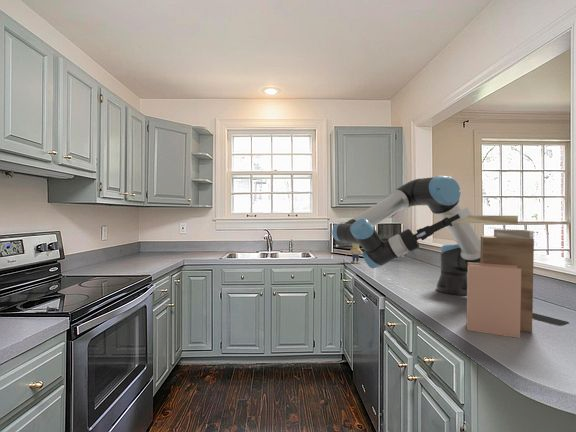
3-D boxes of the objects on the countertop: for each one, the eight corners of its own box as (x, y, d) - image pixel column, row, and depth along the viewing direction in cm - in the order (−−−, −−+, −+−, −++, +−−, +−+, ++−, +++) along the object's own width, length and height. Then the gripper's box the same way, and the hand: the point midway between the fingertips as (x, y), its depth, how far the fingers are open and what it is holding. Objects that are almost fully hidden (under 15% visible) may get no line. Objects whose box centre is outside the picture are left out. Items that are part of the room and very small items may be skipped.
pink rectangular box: (466, 323, 111) (467, 262, 110) (515, 330, 104) (516, 265, 104) (467, 330, 104) (468, 265, 104) (519, 338, 98) (521, 268, 98)
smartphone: (559, 325, 109) (512, 312, 123) (559, 327, 109) (512, 314, 123) (570, 322, 112) (523, 310, 126) (570, 324, 112) (523, 311, 126)
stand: (479, 317, 118) (480, 228, 117) (526, 323, 111) (527, 230, 111) (481, 324, 110) (483, 229, 109) (532, 332, 103) (534, 231, 103)
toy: (365, 262, 245) (365, 239, 245) (365, 263, 239) (366, 240, 238) (345, 261, 248) (345, 239, 248) (345, 263, 241) (345, 240, 241)
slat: (444, 222, 112) (444, 215, 112) (515, 223, 103) (515, 215, 103) (444, 222, 109) (444, 215, 109) (517, 223, 99) (517, 215, 99)
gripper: (412, 249, 123) (473, 220, 114) (406, 254, 108) (477, 221, 99) (402, 232, 125) (461, 202, 115) (395, 234, 110) (463, 200, 100)
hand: (468, 211), depth 107 cm, fingers closed on slat, 4 cm apart
